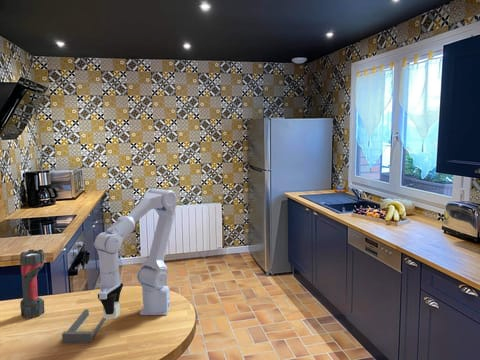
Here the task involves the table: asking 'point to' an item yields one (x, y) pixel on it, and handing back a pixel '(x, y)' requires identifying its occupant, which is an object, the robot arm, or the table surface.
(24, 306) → the flashlight
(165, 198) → the robot arm
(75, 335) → the rail
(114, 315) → the block
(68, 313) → the table surface
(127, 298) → the table surface
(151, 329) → the table surface
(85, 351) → the table surface
